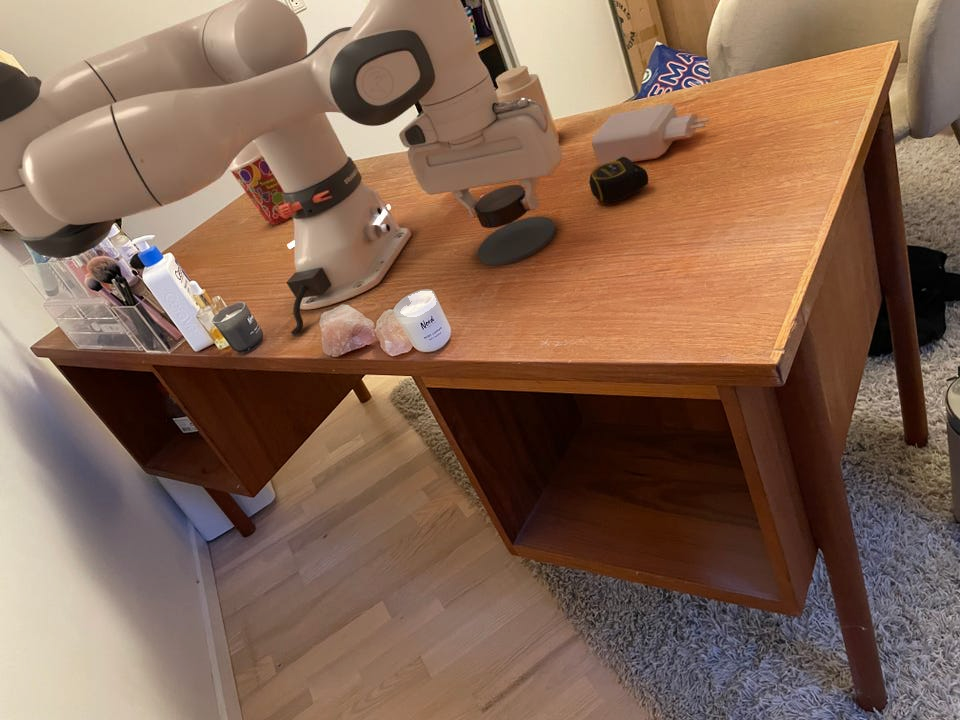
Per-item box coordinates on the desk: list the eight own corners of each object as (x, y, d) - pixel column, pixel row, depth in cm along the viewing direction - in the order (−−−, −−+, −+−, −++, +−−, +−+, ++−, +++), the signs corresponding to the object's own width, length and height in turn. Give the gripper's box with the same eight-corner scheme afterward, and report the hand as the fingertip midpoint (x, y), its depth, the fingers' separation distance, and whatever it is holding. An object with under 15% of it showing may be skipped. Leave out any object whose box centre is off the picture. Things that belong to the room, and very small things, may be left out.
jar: (559, 147, 114) (533, 70, 107) (514, 163, 116) (486, 89, 109) (559, 131, 120) (534, 57, 113) (516, 146, 123) (490, 75, 116)
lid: (506, 198, 93) (500, 183, 92) (540, 201, 88) (535, 185, 87) (470, 225, 91) (463, 210, 90) (503, 230, 86) (497, 214, 84)
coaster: (556, 249, 86) (554, 245, 86) (475, 274, 89) (474, 270, 89) (556, 211, 95) (554, 207, 95) (483, 235, 98) (481, 232, 98)
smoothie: (291, 222, 140) (236, 130, 129) (259, 232, 143) (202, 144, 132) (306, 203, 146) (255, 115, 136) (275, 214, 149) (222, 128, 139)
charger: (700, 155, 91) (599, 169, 100) (719, 124, 97) (622, 140, 106) (692, 122, 89) (590, 139, 98) (713, 91, 94) (614, 111, 103)
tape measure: (653, 191, 88) (646, 164, 86) (604, 213, 89) (596, 187, 87) (634, 176, 94) (627, 151, 92) (588, 196, 95) (580, 172, 92)
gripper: (549, 81, 78) (584, 189, 85) (414, 116, 90) (455, 208, 97) (526, 105, 74) (565, 216, 81) (388, 138, 86) (433, 232, 94)
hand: (504, 212), depth 90 cm, fingers closed on lid, 7 cm apart
